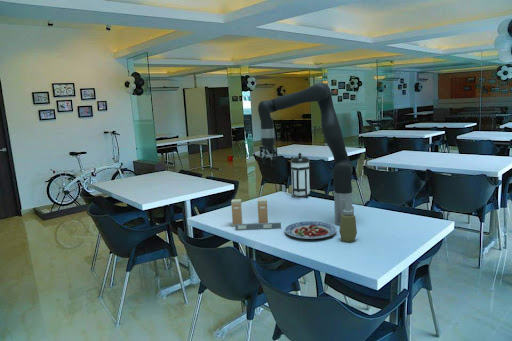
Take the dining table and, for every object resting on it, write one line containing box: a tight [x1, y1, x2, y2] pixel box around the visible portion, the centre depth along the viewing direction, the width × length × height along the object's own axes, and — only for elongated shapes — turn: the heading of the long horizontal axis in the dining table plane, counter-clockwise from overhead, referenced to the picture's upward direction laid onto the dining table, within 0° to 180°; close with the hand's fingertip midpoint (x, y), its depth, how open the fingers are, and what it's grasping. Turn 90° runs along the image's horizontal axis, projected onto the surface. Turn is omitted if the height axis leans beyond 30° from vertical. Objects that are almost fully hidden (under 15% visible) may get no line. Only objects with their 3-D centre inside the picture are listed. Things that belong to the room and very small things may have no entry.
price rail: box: [234, 221, 282, 231], centre depth 208 cm, size 24×1×3 cm, turn 89°
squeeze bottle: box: [339, 203, 358, 243], centre depth 185 cm, size 8×8×18 cm
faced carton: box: [230, 198, 243, 228], centre depth 215 cm, size 5×5×14 cm
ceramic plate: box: [284, 220, 337, 240], centre depth 199 cm, size 26×26×3 cm
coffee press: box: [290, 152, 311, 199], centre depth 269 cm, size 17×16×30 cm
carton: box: [257, 198, 269, 223], centre depth 213 cm, size 5×5×14 cm
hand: (268, 165), depth 224 cm, fingers open, 8 cm apart
